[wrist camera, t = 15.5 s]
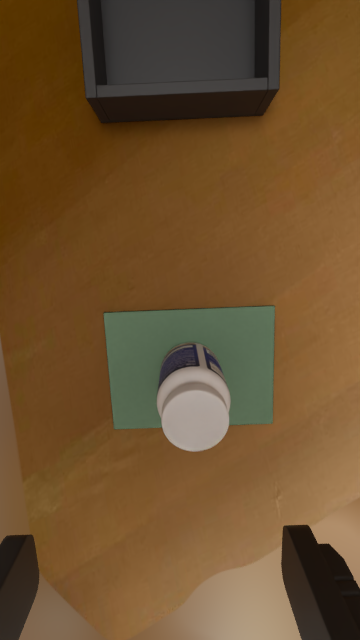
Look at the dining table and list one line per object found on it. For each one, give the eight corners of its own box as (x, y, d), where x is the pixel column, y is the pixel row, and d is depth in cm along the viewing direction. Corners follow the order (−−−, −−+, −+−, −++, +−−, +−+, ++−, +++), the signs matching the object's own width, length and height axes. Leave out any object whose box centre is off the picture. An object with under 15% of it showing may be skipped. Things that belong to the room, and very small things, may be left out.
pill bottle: (155, 390, 33) (146, 451, 23) (167, 335, 32) (161, 374, 22) (213, 401, 33) (226, 465, 23) (226, 347, 32) (246, 391, 22)
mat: (114, 427, 34) (113, 429, 34) (104, 312, 32) (103, 313, 31) (271, 421, 34) (272, 423, 34) (273, 305, 32) (275, 306, 31)
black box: (101, 123, 28) (85, 98, 24) (85, -75, 25) (63, -149, 21) (262, 115, 28) (279, 89, 23) (265, -85, 25) (284, -161, 21)
